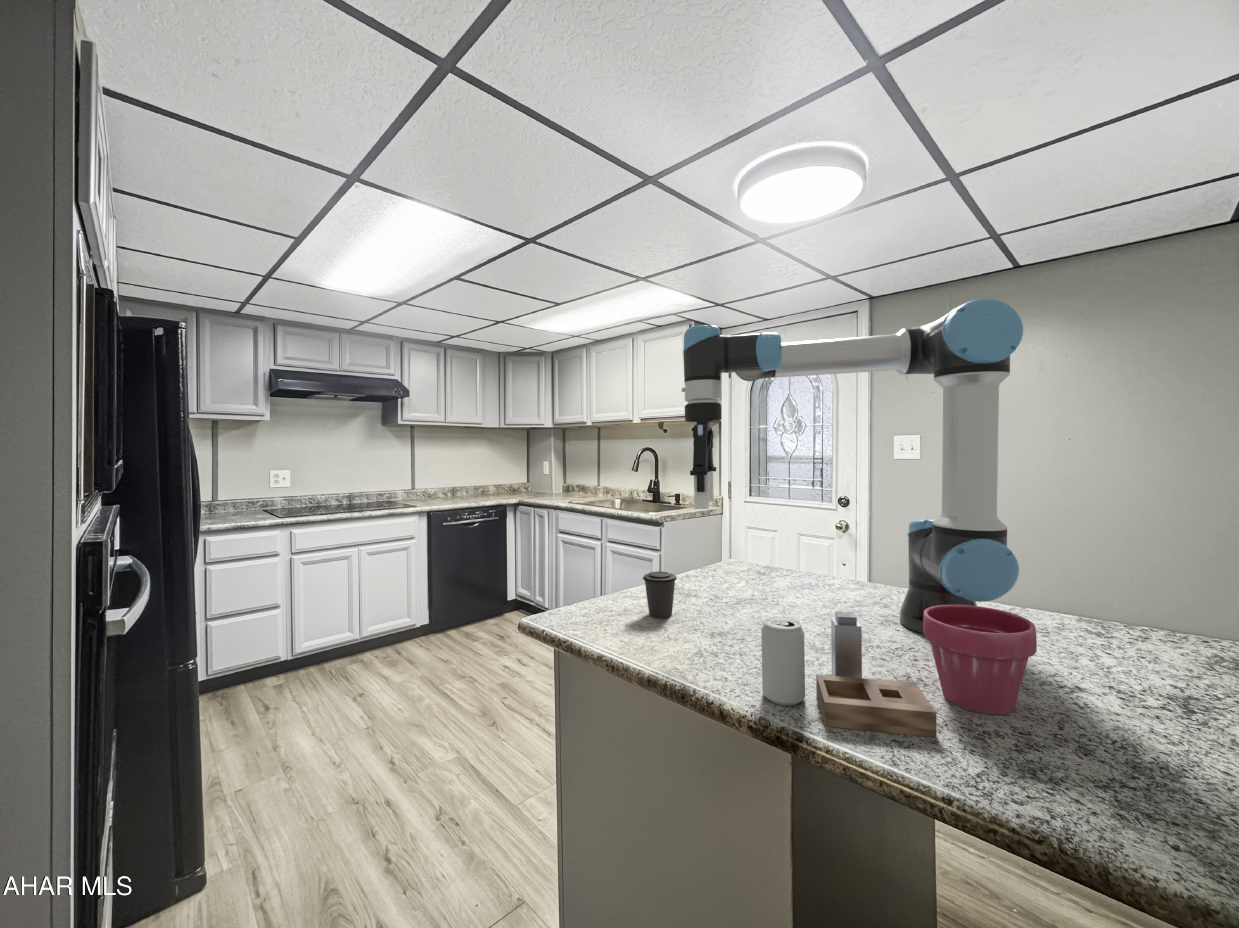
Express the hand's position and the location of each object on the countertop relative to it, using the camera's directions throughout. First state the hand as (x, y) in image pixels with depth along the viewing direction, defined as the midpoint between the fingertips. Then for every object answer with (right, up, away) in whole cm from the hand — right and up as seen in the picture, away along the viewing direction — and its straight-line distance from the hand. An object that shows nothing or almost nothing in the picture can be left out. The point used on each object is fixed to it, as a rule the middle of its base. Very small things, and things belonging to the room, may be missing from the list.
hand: (704, 505), depth 107 cm
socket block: (+19, -28, -32) cm, 47 cm away
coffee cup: (-8, -27, +14) cm, 32 cm away
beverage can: (+8, -28, -27) cm, 40 cm away
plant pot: (+37, -28, -29) cm, 54 cm away
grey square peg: (+20, -28, -21) cm, 40 cm away
